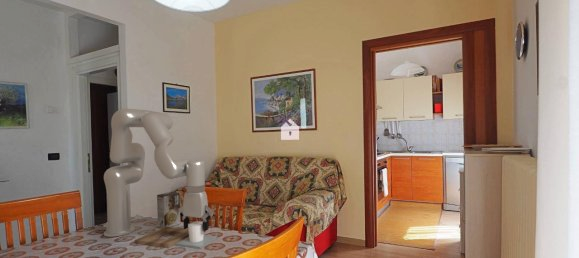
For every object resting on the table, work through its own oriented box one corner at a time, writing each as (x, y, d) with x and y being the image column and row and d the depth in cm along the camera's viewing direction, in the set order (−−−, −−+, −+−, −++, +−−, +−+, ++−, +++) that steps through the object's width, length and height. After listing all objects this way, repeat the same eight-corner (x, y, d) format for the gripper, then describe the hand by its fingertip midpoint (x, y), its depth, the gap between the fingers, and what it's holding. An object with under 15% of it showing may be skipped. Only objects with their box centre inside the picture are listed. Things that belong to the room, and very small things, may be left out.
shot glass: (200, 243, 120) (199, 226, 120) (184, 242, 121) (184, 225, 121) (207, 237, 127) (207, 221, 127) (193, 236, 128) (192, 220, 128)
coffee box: (173, 221, 153) (173, 191, 153) (180, 223, 149) (180, 192, 149) (157, 226, 145) (156, 194, 146) (164, 229, 142) (163, 196, 142)
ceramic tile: (175, 245, 120) (175, 243, 120) (194, 235, 132) (194, 233, 132) (200, 248, 116) (200, 246, 116) (217, 237, 128) (217, 236, 128)
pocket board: (134, 243, 124) (134, 240, 124) (165, 229, 141) (165, 226, 141) (168, 248, 118) (168, 244, 118) (196, 233, 135) (196, 229, 135)
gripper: (173, 189, 123) (173, 230, 123) (207, 192, 118) (208, 234, 118) (184, 186, 131) (185, 224, 130) (218, 188, 125) (218, 228, 125)
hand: (196, 229), depth 124 cm, fingers open, 9 cm apart
